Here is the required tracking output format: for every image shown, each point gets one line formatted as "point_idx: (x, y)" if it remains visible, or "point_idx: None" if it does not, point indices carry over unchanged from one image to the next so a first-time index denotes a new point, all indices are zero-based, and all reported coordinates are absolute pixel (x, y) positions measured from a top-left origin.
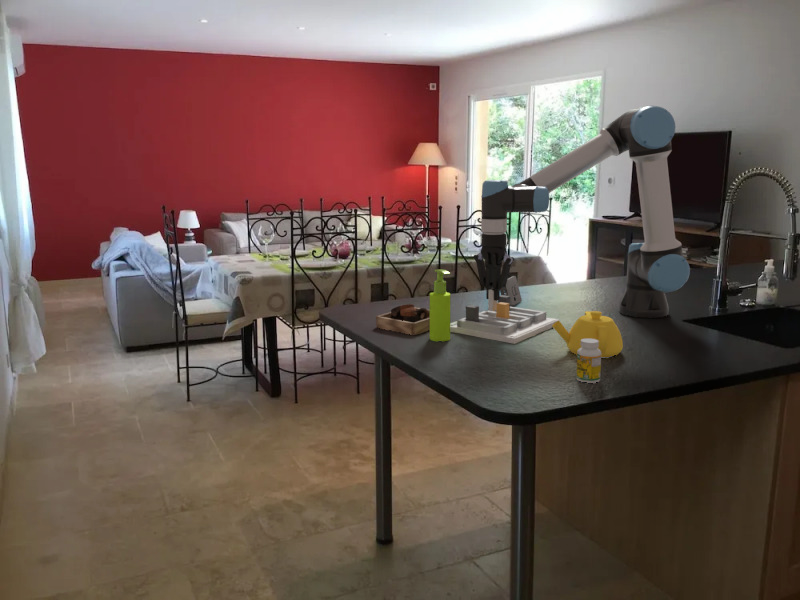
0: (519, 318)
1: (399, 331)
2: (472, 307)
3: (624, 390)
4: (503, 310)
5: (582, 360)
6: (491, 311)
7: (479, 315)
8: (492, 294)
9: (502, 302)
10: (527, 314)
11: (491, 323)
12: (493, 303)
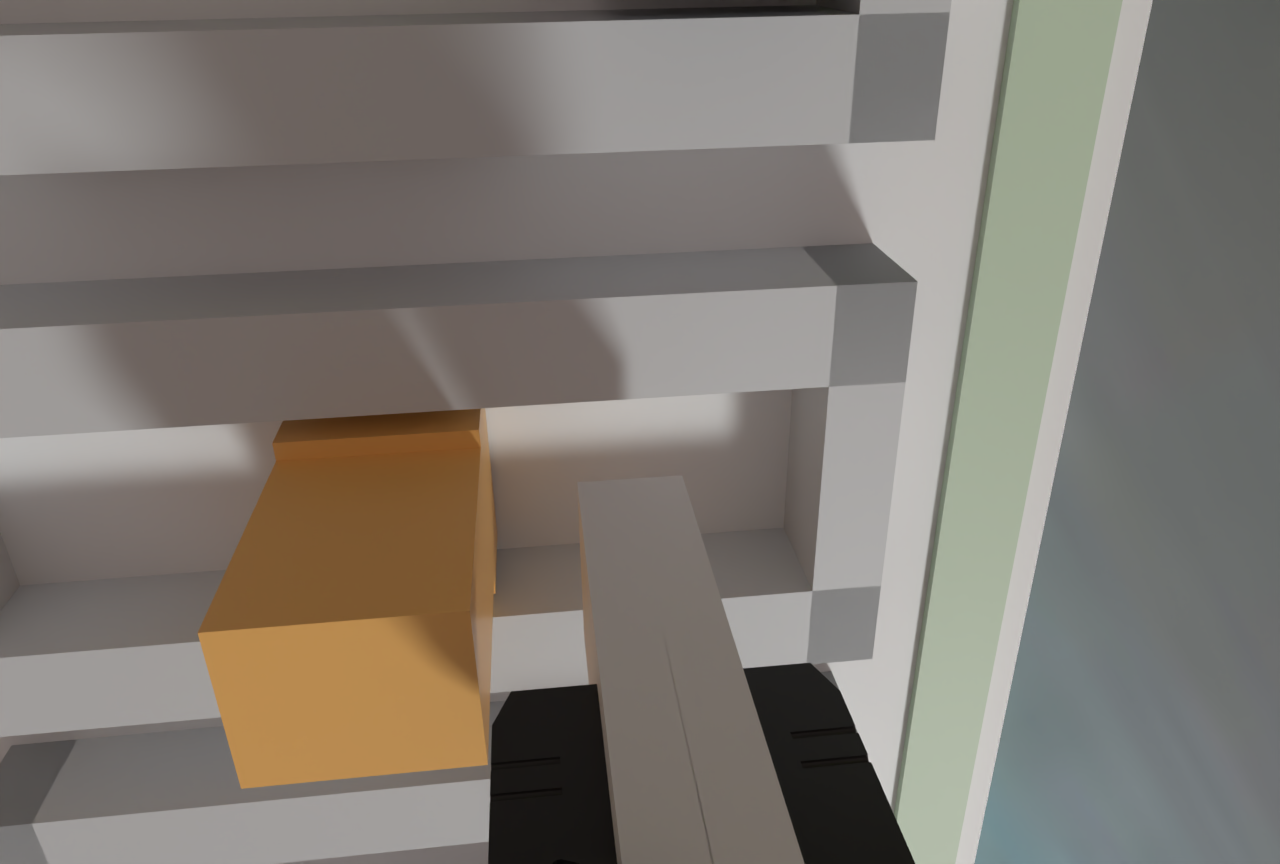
0: (118, 632)
1: None
2: None
3: None
4: (285, 539)
5: None
6: (753, 647)
7: (783, 287)
8: (617, 763)
9: (427, 757)
10: (151, 839)
11: (282, 21)
12: (591, 619)
